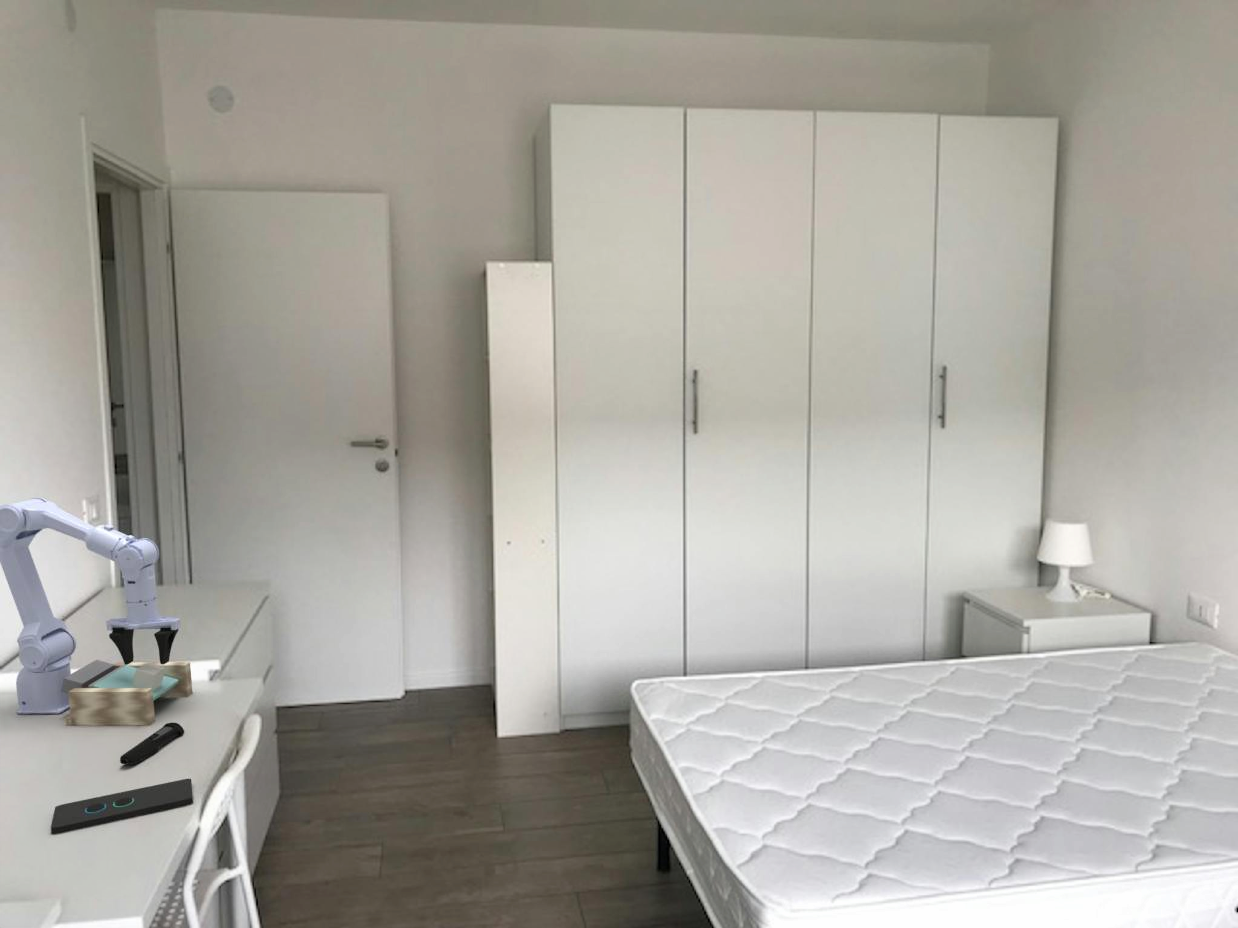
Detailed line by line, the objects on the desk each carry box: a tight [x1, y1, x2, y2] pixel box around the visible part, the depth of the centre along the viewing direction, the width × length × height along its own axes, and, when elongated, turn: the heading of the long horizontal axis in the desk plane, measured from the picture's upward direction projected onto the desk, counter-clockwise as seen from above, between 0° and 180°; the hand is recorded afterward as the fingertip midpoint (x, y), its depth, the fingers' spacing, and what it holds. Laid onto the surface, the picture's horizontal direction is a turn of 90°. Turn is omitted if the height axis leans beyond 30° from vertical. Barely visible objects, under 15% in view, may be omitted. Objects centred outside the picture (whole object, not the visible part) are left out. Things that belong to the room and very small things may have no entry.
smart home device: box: [50, 778, 194, 835], centre depth 149 cm, size 8×2×20 cm
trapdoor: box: [61, 659, 179, 702], centre depth 190 cm, size 18×12×4 cm, turn 88°
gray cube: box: [132, 663, 165, 692], centre depth 189 cm, size 4×4×4 cm
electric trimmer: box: [119, 722, 185, 765], centre depth 170 cm, size 4×16×3 cm, turn 171°
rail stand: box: [65, 661, 193, 726], centre depth 190 cm, size 17×17×7 cm
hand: (146, 662), depth 189 cm, fingers open, 7 cm apart
